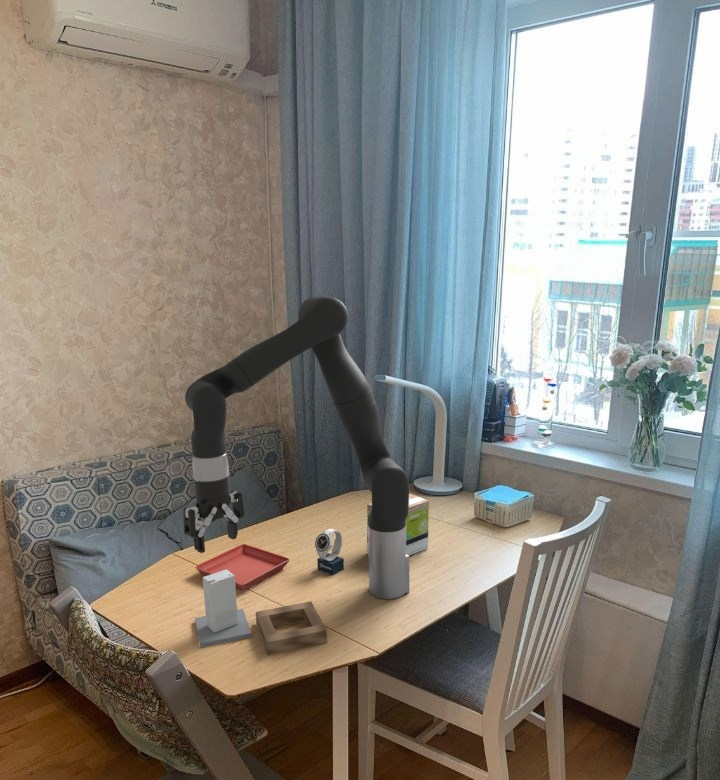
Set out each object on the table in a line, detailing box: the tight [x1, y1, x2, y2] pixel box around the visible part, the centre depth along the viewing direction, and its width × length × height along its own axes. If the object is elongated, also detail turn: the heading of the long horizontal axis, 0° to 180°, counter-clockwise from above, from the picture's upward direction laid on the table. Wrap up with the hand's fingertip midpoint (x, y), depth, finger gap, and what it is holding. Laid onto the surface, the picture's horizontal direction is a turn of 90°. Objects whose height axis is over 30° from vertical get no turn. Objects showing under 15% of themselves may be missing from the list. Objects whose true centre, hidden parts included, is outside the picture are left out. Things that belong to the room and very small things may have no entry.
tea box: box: [366, 493, 430, 557], centre depth 186 cm, size 15×10×15 cm, turn 131°
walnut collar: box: [255, 601, 328, 656], centre depth 148 cm, size 13×13×3 cm
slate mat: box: [194, 608, 252, 648], centre depth 150 cm, size 11×11×1 cm
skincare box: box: [202, 570, 238, 633], centre depth 148 cm, size 6×4×12 cm
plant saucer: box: [195, 543, 291, 591], centre depth 177 cm, size 18×18×3 cm
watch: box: [314, 528, 345, 576], centre depth 176 cm, size 6×8×11 cm
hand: (216, 544), depth 146 cm, fingers open, 8 cm apart
